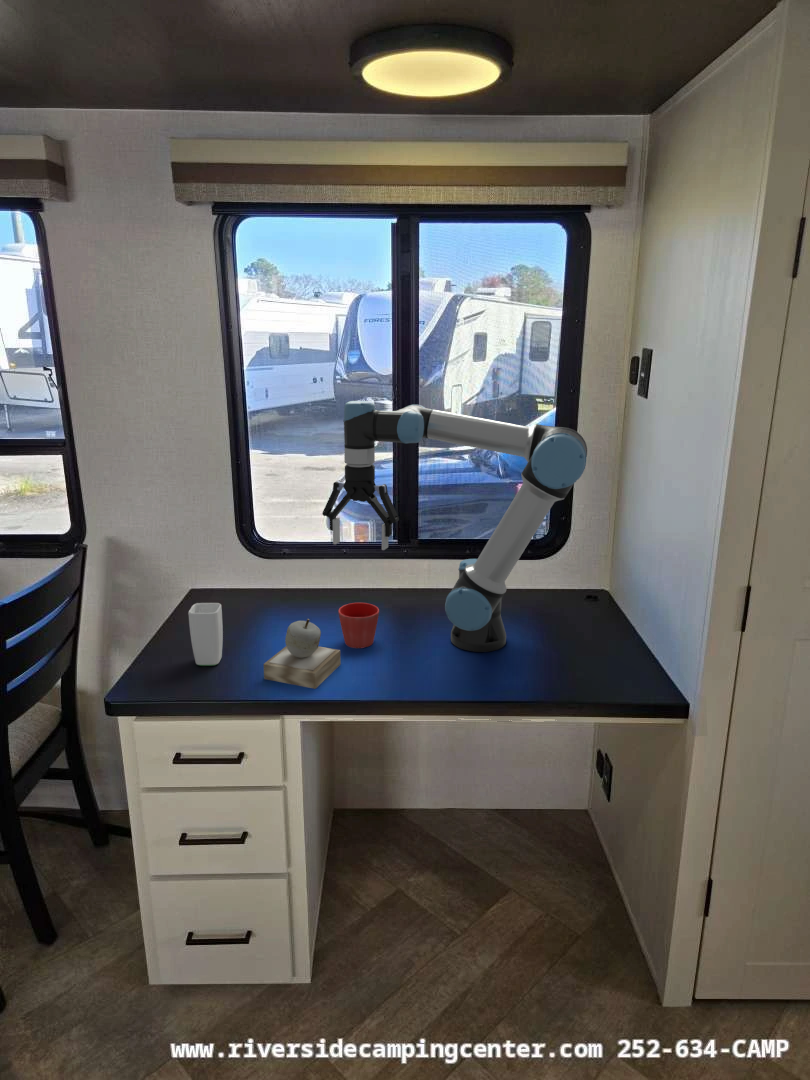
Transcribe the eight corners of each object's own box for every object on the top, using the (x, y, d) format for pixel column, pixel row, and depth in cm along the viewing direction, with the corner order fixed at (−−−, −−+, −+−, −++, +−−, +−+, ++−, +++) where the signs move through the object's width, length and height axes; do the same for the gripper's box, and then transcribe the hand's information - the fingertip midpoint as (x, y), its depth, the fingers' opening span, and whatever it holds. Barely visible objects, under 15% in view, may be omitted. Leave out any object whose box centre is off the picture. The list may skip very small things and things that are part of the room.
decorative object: (281, 651, 184) (280, 615, 182) (315, 646, 188) (314, 609, 185) (291, 666, 177) (289, 628, 174) (326, 660, 180) (325, 622, 177)
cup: (198, 656, 192) (193, 602, 187) (226, 655, 192) (222, 602, 188) (191, 668, 185) (186, 613, 181) (220, 668, 185) (216, 613, 181)
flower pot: (374, 652, 194) (373, 618, 192) (334, 649, 197) (333, 615, 194) (383, 636, 204) (383, 604, 202) (345, 633, 206) (344, 600, 204)
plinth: (340, 664, 188) (340, 649, 186) (315, 688, 175) (315, 672, 174) (292, 655, 192) (291, 640, 191) (264, 678, 180) (263, 662, 178)
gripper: (411, 465, 182) (411, 546, 188) (321, 458, 190) (323, 536, 196) (401, 470, 175) (400, 555, 181) (307, 463, 184) (310, 544, 190)
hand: (360, 545), depth 189 cm, fingers open, 13 cm apart
